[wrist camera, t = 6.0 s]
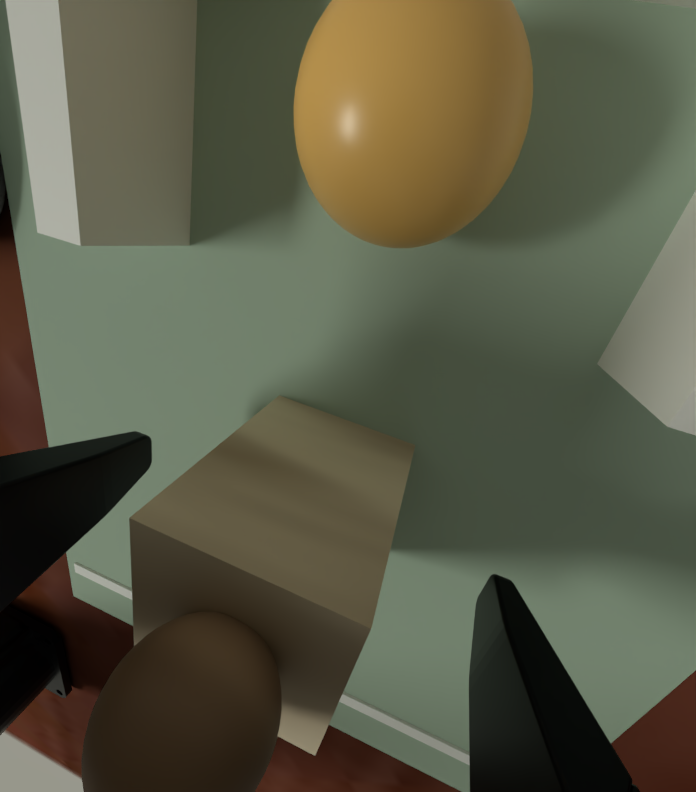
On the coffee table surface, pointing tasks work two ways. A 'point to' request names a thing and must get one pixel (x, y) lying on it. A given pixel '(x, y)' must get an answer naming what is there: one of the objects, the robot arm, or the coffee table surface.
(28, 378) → the coffee table surface
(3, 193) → the ceramic mug
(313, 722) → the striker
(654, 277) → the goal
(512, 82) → the ball
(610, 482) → the pitch mat
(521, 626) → the robot arm
